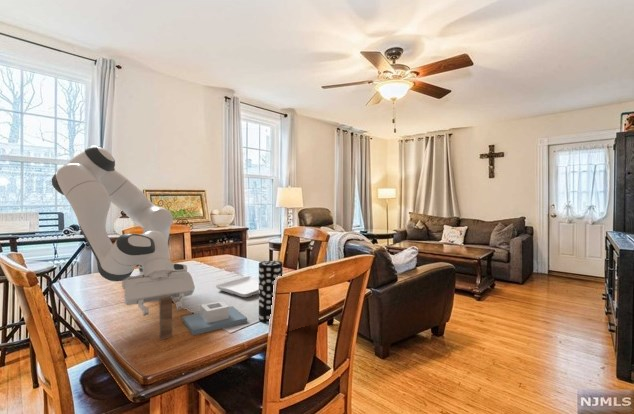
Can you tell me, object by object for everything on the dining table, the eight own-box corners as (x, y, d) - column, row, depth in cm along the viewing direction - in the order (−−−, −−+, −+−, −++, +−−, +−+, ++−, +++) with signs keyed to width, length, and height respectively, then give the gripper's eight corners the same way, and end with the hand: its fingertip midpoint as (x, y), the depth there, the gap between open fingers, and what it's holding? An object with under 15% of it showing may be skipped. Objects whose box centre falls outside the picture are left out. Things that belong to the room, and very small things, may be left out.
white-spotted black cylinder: (261, 314, 114) (261, 260, 114) (283, 314, 114) (284, 260, 114) (256, 323, 106) (256, 265, 106) (280, 323, 106) (280, 265, 105)
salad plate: (244, 301, 129) (244, 293, 129) (214, 292, 142) (214, 284, 142) (279, 289, 146) (279, 282, 146) (249, 282, 159) (249, 275, 159)
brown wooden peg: (159, 335, 96) (159, 297, 96) (170, 333, 98) (170, 295, 98) (161, 339, 94) (161, 300, 93) (172, 336, 95) (171, 298, 95)
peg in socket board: (182, 320, 108) (182, 305, 108) (232, 310, 119) (232, 295, 118) (192, 335, 97) (192, 317, 97) (247, 322, 107) (247, 306, 107)
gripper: (122, 272, 96) (124, 313, 88) (191, 264, 108) (198, 300, 100) (121, 283, 100) (123, 323, 92) (188, 274, 111) (195, 309, 104)
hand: (163, 311), depth 96 cm, fingers open, 8 cm apart
